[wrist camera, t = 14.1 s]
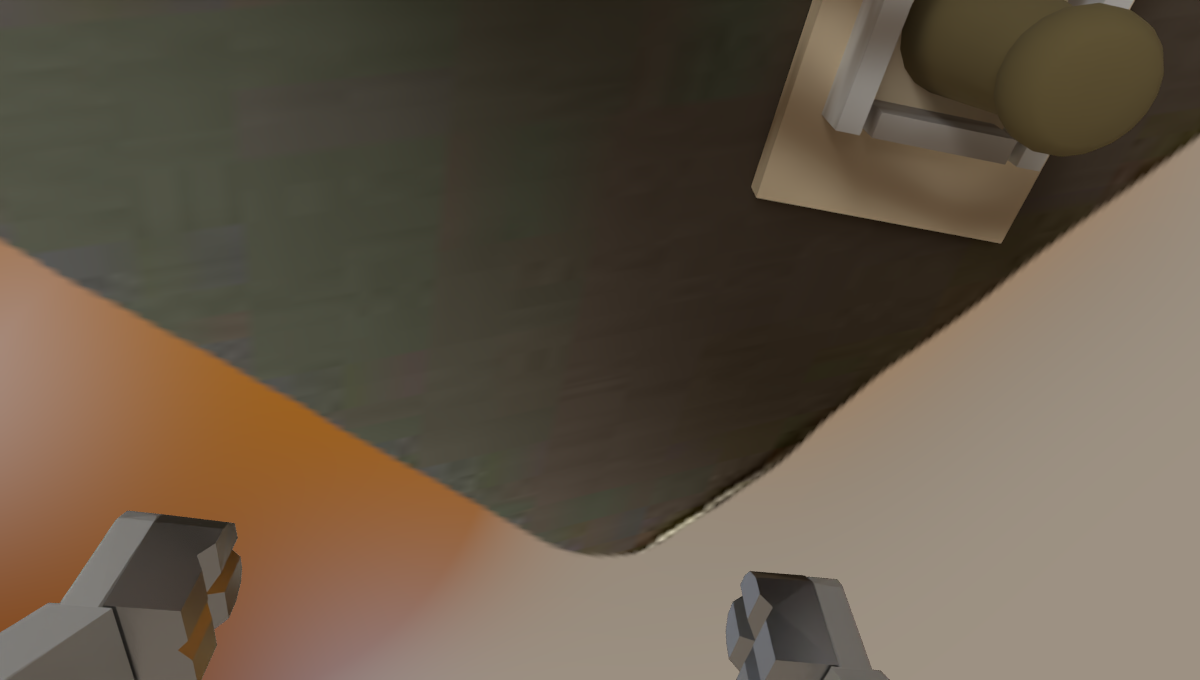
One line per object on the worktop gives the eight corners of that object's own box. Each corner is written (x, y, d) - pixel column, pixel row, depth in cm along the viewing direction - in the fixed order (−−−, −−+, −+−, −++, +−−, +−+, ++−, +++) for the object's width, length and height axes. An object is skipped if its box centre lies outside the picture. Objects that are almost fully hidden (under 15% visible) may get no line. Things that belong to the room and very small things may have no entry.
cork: (949, -65, 32) (1092, -31, 23) (1062, -14, 33) (1242, 39, 24) (875, 70, 35) (975, 148, 26) (981, 113, 36) (1113, 202, 27)
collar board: (906, -284, 29) (946, -301, 26) (1218, -198, 31) (1294, -204, 28) (750, 186, 40) (765, 217, 37) (988, 231, 42) (1023, 265, 38)
